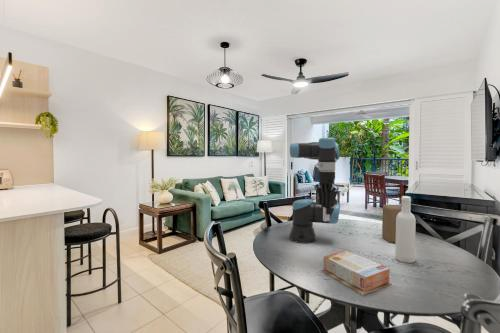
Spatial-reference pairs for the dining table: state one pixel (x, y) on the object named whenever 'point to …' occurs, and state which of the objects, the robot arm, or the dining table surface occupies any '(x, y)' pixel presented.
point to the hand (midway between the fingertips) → (326, 220)
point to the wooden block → (390, 222)
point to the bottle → (405, 233)
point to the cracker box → (357, 270)
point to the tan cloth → (355, 286)
